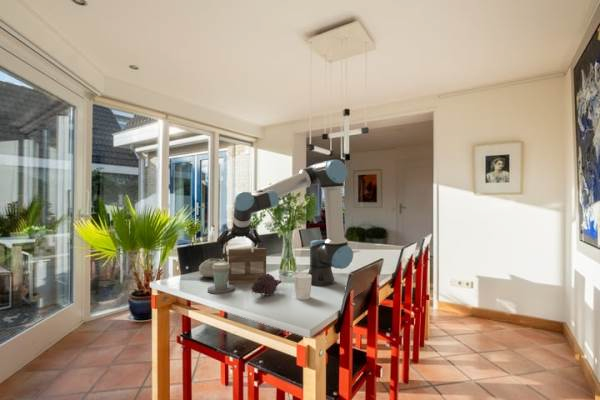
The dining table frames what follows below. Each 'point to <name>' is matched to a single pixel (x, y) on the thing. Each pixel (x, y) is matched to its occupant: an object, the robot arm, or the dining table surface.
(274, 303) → the dining table surface
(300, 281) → the white cup
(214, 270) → the coffee cup
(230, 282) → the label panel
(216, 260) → the beige rounded lump
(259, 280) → the pine cone
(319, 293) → the dining table surface
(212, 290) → the rubber mat
